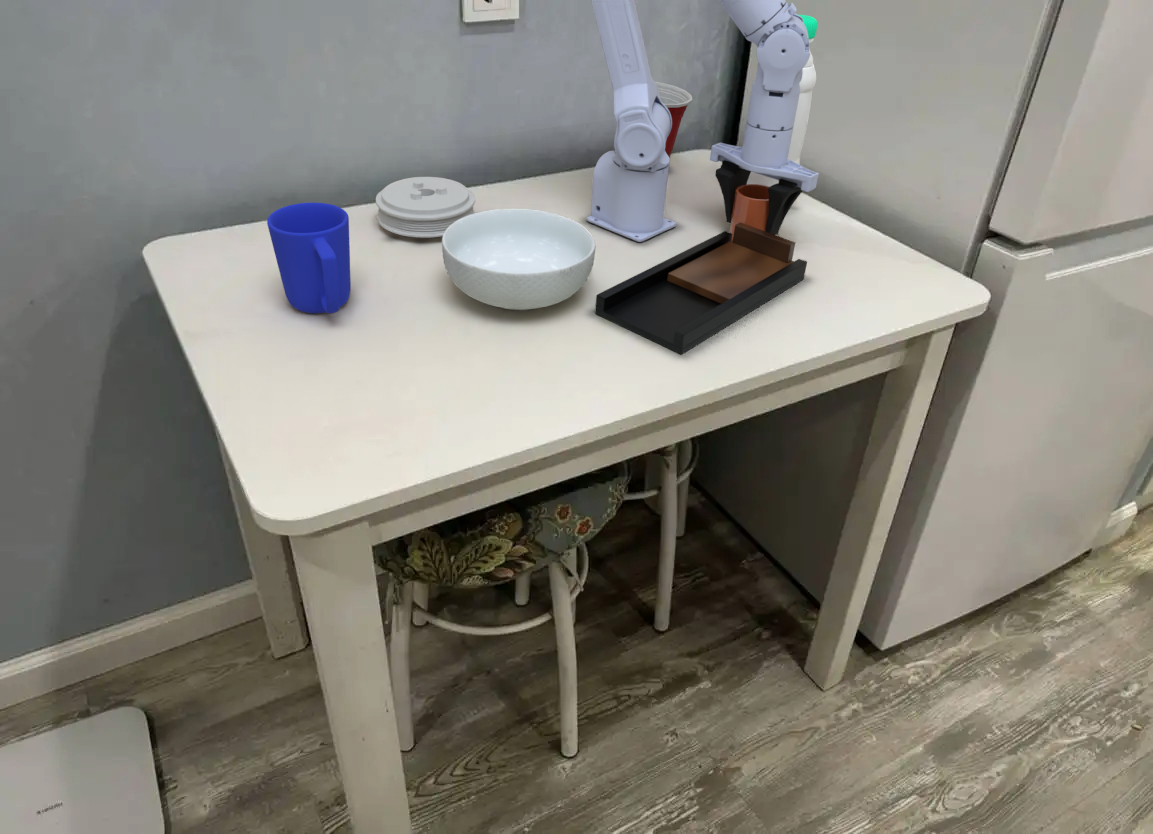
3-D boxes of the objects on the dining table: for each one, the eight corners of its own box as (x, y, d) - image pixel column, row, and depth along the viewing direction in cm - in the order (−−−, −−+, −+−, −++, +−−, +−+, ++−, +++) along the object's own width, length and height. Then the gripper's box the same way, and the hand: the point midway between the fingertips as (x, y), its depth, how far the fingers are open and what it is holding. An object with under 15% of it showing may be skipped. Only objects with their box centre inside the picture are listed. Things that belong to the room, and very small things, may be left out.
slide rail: (594, 313, 100) (596, 294, 98) (722, 248, 115) (724, 230, 114) (681, 355, 93) (683, 335, 92) (803, 279, 109) (807, 261, 107)
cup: (720, 238, 117) (727, 191, 114) (743, 226, 121) (751, 180, 117) (756, 252, 114) (764, 204, 111) (778, 239, 118) (787, 192, 114)
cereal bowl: (467, 341, 94) (465, 281, 89) (428, 272, 106) (425, 216, 102) (615, 318, 99) (620, 259, 95) (562, 254, 111) (564, 200, 107)
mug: (299, 344, 92) (285, 255, 86) (273, 292, 100) (259, 208, 94) (377, 328, 95) (369, 241, 89) (346, 279, 103) (336, 197, 98)
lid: (493, 232, 116) (492, 195, 113) (403, 252, 110) (400, 214, 107) (448, 198, 124) (446, 163, 121) (362, 215, 118) (358, 179, 115)
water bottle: (795, 215, 125) (833, 24, 110) (745, 212, 125) (776, 21, 110) (786, 195, 131) (821, 12, 116) (738, 193, 130) (767, 9, 116)
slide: (666, 280, 105) (670, 254, 103) (733, 246, 114) (737, 221, 112) (729, 307, 100) (733, 280, 98) (793, 268, 109) (798, 243, 107)
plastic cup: (679, 186, 132) (689, 103, 125) (607, 177, 133) (613, 95, 126) (687, 161, 140) (696, 83, 133) (619, 153, 142) (625, 75, 135)
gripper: (839, 131, 107) (816, 236, 115) (738, 103, 115) (723, 203, 123) (809, 144, 103) (787, 252, 111) (706, 114, 111) (693, 217, 119)
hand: (752, 227), depth 117 cm, fingers closed on cup, 5 cm apart
